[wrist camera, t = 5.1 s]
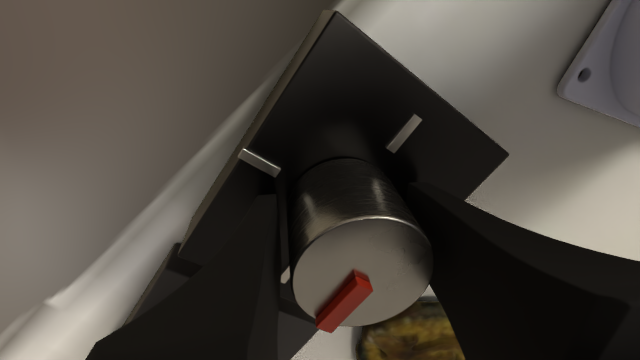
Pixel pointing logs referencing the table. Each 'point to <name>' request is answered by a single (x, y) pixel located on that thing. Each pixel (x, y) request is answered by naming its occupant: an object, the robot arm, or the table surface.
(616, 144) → the table surface
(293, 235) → the dial
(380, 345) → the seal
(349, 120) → the dial plate
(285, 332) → the power block
